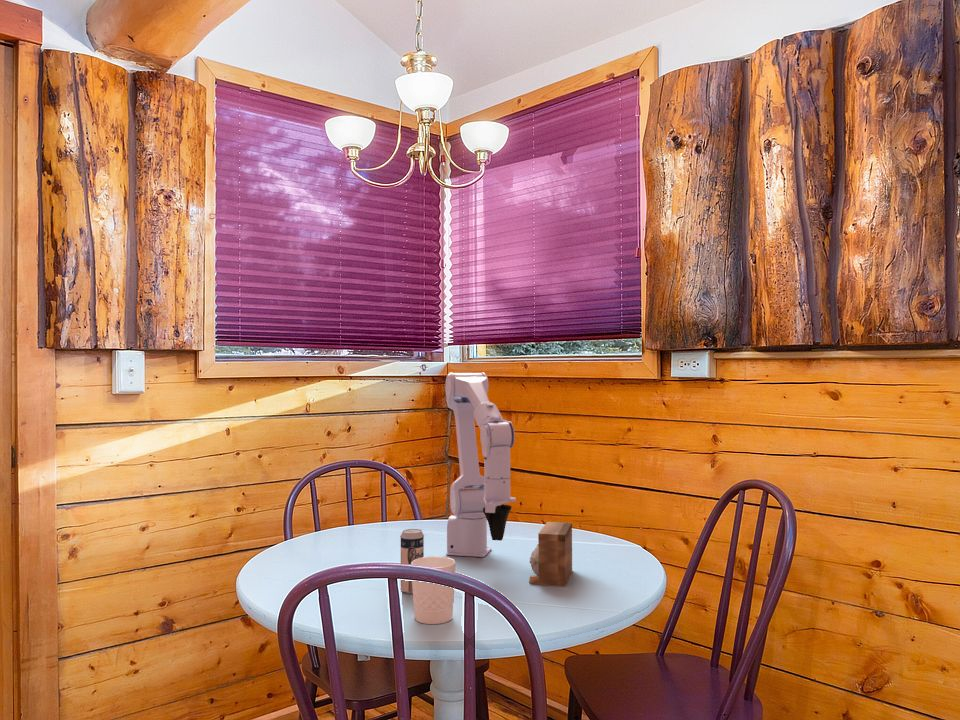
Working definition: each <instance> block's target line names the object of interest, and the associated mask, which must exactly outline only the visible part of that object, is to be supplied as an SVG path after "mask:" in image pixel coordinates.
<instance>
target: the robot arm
mask: <svg viewBox="0 0 960 720" xmlns="http://www.w3.org/2000/svg"><path fill="white" fill-rule="evenodd" d="M489 386H490V384H489V379H488V376H487V374H486V373H485V372H484V371H483V372H455V373H454V372H449V373H448V374H447V375H446V378H445V384H444V387H445V388H444V389H445V390H444V391H445V399H446V404H447V408H449V409H450V410H451V411H453V414H454V421H455V422H454V423H455V431H456V442H457V451H458V452H457V454H458V462H459V464H458V465H459V475H460V476H459V477H458V478H456V480H455V481H453V482H452V483H451V485H450V489H449V490H450V491H449V492H450V495H449V506H450V511H451V513H452V515H449V517H448V519H447V522H446V523H447V525H446V555H447V556H459V557H462V556H463V557H476V558H477V557H479V558H484V557H486V556H487V555H488V554H489V553H490V551H491V550H492V547H490V546H488V529H487V528H488V527H489V532H490V537H491V540H492V541H501V542H502V541H503V539H504V535H505V530H506V526H507V525H506V524H507V520H508V518H509V514H510V512H511V510H512V504H511V505H508V504H509V503H515V502H516V500H517V498H516V497H513V496H511V448H513V446H514V444H515V439H516V438H515V437H516V436H515V435H516V434H515V427H514V425H513V422H512V421H509V420H507V419H504V418H503V416H502V413H501V412H500V410H499V408H498V407H497V405H496V403H494V402H491V401H490V399H489V397H488V392H489ZM475 422H476V424H477V426H478V428H479V430H480V433H479V434H480V435H479V436H480V444H481V453H482V457H484V459H483V460H484V461H483V463H484V465H483V466H484V467H483V469H484V470H483V472H484V473H483V474H484V475H482V474H481V473H480V464H479V455H478V454H479V452H478V444H477V434H476V425H475Z"/></svg>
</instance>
